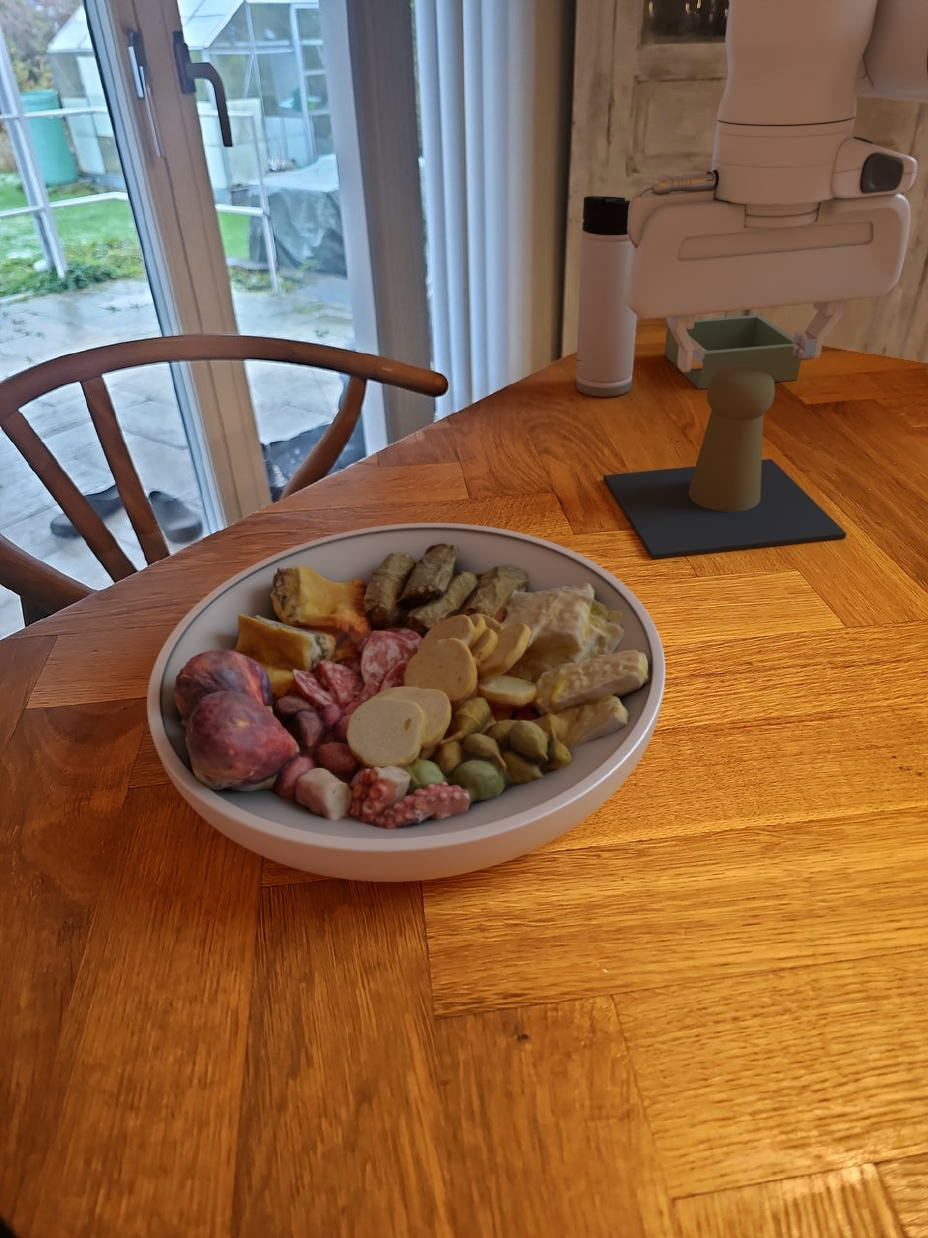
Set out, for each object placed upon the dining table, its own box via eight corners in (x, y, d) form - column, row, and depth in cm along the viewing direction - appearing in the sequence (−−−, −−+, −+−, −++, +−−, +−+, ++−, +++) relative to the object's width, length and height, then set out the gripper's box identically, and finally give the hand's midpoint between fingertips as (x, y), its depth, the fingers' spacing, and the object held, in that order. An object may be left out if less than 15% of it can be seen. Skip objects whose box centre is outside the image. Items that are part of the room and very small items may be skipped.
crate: (754, 347, 105) (760, 314, 102) (797, 380, 96) (804, 344, 93) (664, 355, 104) (667, 321, 101) (698, 389, 94) (702, 353, 92)
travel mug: (562, 389, 96) (567, 194, 84) (599, 373, 99) (610, 184, 88) (605, 403, 92) (617, 201, 80) (642, 386, 96) (659, 190, 84)
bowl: (428, 537, 70) (421, 449, 66) (754, 701, 53) (776, 596, 48) (81, 716, 54) (40, 616, 49) (385, 1044, 36) (365, 935, 31)
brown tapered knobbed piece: (674, 497, 73) (690, 373, 67) (710, 472, 77) (728, 352, 70) (738, 519, 70) (761, 390, 63) (773, 492, 73) (797, 367, 67)
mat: (770, 463, 79) (771, 458, 79) (845, 538, 68) (847, 533, 67) (603, 480, 78) (603, 474, 77) (651, 559, 66) (652, 554, 66)
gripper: (644, 185, 55) (630, 391, 63) (942, 161, 57) (890, 364, 65) (617, 170, 60) (607, 362, 68) (890, 148, 62) (849, 338, 70)
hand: (747, 363), depth 66 cm, fingers open, 8 cm apart
